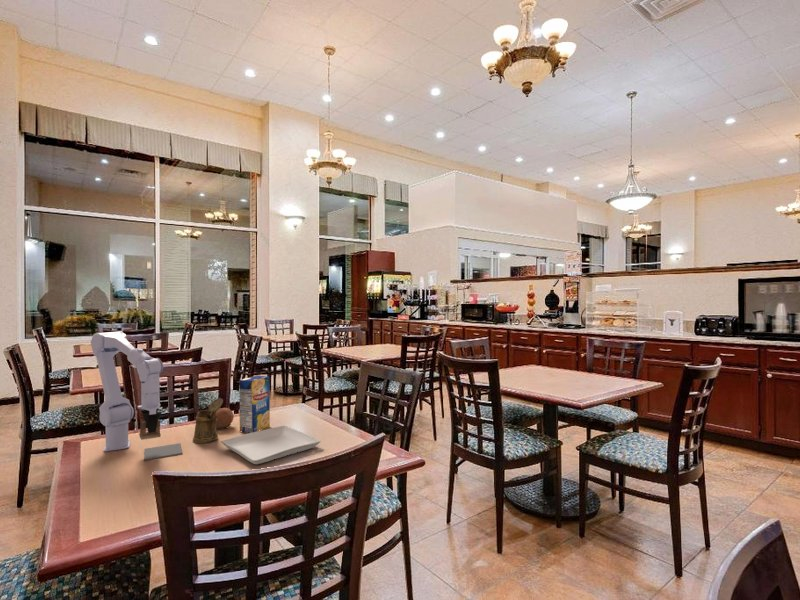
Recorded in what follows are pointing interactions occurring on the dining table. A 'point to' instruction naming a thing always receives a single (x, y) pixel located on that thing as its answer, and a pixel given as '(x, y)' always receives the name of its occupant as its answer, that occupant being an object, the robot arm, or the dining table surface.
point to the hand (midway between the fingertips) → (150, 430)
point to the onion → (224, 418)
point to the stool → (147, 435)
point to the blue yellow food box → (254, 403)
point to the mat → (162, 451)
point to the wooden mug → (207, 423)
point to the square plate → (270, 444)
